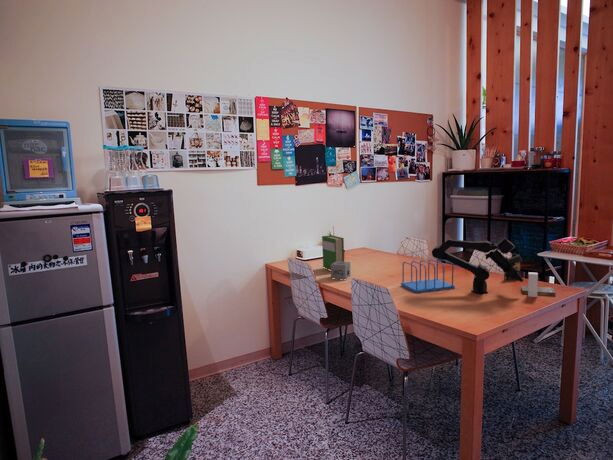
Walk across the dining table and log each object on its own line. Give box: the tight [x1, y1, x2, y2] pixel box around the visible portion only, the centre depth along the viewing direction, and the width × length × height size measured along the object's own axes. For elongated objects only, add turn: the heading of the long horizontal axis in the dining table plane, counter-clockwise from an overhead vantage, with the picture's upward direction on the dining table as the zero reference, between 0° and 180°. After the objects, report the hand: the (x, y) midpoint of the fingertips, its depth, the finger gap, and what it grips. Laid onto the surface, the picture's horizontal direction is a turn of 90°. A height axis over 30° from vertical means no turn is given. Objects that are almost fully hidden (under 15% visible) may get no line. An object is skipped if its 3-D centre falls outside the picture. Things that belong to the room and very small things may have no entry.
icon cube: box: [330, 261, 352, 280], centre depth 266 cm, size 10×10×10 cm
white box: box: [527, 271, 539, 298], centre depth 214 cm, size 4×13×12 cm, turn 155°
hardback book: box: [321, 235, 345, 270], centre depth 289 cm, size 18×7×24 cm, turn 26°
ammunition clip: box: [503, 262, 522, 281], centre depth 246 cm, size 11×2×12 cm, turn 106°
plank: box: [520, 285, 556, 297], centre depth 216 cm, size 15×10×2 cm, turn 65°
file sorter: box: [400, 258, 455, 294], centre depth 235 cm, size 25×17×15 cm
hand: (522, 281), depth 212 cm, fingers closed
